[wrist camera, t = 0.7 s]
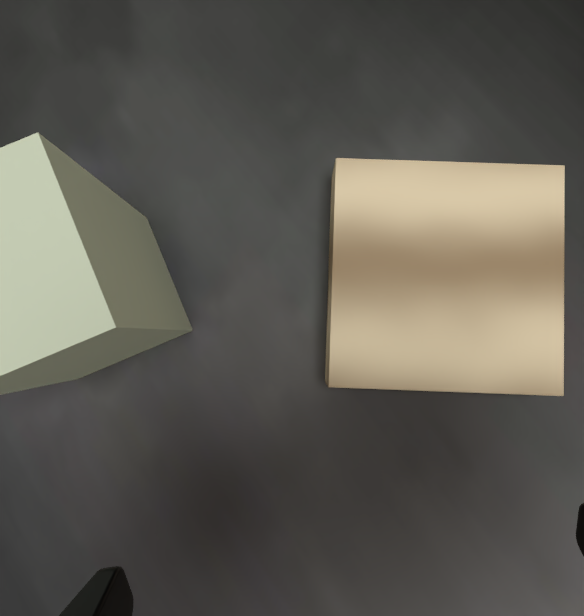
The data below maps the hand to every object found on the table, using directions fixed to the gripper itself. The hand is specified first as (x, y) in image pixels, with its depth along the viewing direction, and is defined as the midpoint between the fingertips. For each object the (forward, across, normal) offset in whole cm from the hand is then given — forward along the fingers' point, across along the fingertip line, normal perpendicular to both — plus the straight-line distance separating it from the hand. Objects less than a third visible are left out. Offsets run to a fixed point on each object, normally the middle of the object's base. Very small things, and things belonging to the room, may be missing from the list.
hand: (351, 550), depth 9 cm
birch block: (+15, -6, 0) cm, 17 cm away
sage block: (+15, +9, -1) cm, 18 cm away
